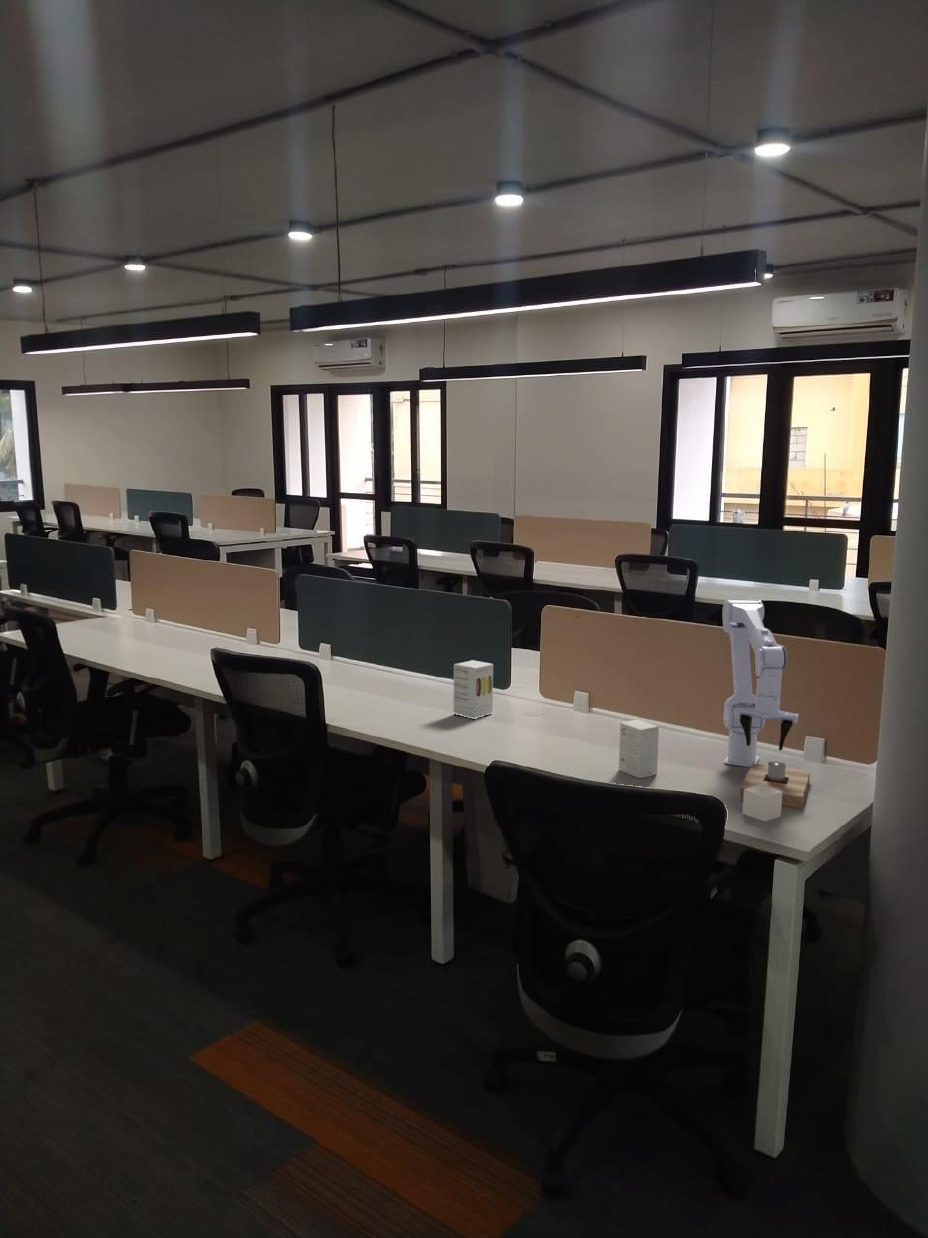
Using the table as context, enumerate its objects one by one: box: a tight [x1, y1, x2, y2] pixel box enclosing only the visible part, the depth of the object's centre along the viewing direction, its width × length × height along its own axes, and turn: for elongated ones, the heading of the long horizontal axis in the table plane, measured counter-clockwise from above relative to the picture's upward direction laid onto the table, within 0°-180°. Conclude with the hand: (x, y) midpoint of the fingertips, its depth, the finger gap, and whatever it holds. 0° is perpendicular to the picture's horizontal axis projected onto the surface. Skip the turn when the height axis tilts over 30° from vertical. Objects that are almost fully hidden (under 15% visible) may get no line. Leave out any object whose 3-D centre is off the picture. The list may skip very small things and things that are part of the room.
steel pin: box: [767, 760, 787, 784], centre depth 218 cm, size 4×4×7 cm
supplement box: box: [452, 659, 494, 718], centre depth 284 cm, size 10×9×17 cm
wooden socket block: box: [739, 763, 811, 810], centre depth 219 cm, size 20×14×3 cm
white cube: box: [742, 784, 783, 822], centre depth 203 cm, size 6×6×6 cm
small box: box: [618, 719, 660, 779], centre depth 231 cm, size 8×6×13 cm
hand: (764, 746), depth 222 cm, fingers open, 7 cm apart
